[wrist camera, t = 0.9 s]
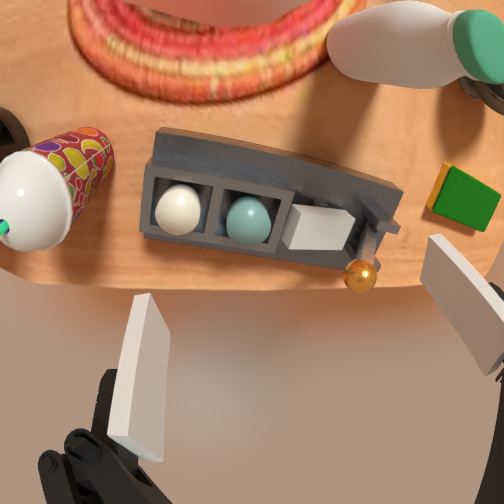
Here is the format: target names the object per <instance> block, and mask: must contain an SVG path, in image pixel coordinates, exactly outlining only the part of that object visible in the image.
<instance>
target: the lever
mask: <svg viewBox="0 0 504 504" xmlns="http://www.w3.org/2000/svg"><path fill="white" fill-rule="evenodd" d="M377 232H378V229H376V228H375V227H374V226H373V225H372V224H371V223H370V221H369V220H367V223H366V225H365V227H364V229H363V232H362V234H361V236H360V238H359V241H358V243H357V245H358V249H357V253H356V257H355V260H353V261H351V262H350V263H349V264H348V265H347V266H346V268H345V270H344V274H343V278H344V282H345V285H346V286H347V287H348V289H349V290H351V291H352V292H355V293H365V292H367V291H369V290H370V289H372V288H373V286H374V285H375V283H376V280H377V272H376V269H375V267H374V258H375V250H376V241H377Z"/></svg>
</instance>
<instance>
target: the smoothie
mask: <svg viewBox="0 0 504 504" xmlns="http://www.w3.org/2000/svg"><path fill="white" fill-rule="evenodd" d="M113 162H114V152H113V149H112V146H111V143H110V141H109V140H108V138H107V137H106V136H105V135H104V134H103V133H102V132H100V131H99V130H97V129H94V128H91V127H84V128H79V129H76V130H73V131H70V132H67V133H64V134H61V135H59V136H56V137H53V138H51V139H48V140H45V141H43V142H40V143H38V144H35V145H33V146H30V147H28V148H26V149H23V150H21V151H17V152H15V153H13V154H11V155H9V156H7V157H5V158H4V160H3V161H2V162H1V163H0V241H1V242H2V243H3V244H4V245H6V246H7V247H9V248H11V249H13V250H16V251H21V252H34V251H38V250H40V251H43V250H47V249H51V248H54V247H56V246H57V245H58V244H60V243H61V242H62V241H63V240H64V238H65V237H66V235H67V233H68V231H69V230H70V228H71V227H72V225H73V224H74V222H75V221H76V219H77V218H78V216H79V215H80V213H81V212H82V210H83V209H84V207H85V206H86V205H87V203H88V202H89V200H90V199H91V198H92V196H93V195H94V193H95V192H96V191H97V189H98V188H99V187H100V185H101V184H102V183H103V181H104V180H105V179H106V178H107V176H108V174H109V173H110V171H111V169H112V166H113Z"/></svg>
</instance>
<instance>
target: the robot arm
mask: <svg viewBox="0 0 504 504" xmlns="http://www.w3.org/2000/svg"><path fill="white" fill-rule="evenodd" d="M28 147H30V143H29V139H28V137H27V134H26V132H25V130H24V128H23V126H22V125H21V123H20V122H19V120H18V119H17V118H16V117H15V116H14V115H13V114H12V113H11V112H9V111H8V110H6V109H3V108H0V163H1V162H2V161H3V160H4V158H5V157H7V156H9V155H11V154H13V153H15V152H17V151H21V150H23V149H26V148H28ZM420 281H421V282H422V283H423V285H424V286H425V287H426V289H427V290H428V291H429V293H430V294H431V295H432V297H433V298H434V299H435V301H436V302H437V304H438V305H439V307H440V308H441V309H442V311H443V312H444V314H445V315H446V316H447V318H448V319H449V321H450V322H451V324H452V325H453V327H454V328H455V330H456V331H457V333H458V334H459V336H460V337H461V339H462V340H463V342H464V343H465V345H466V346H467V348H468V350H469V351H470V353H471V354H472V356H473V358H474V359H475V361H476V362H477V364H478V366H479V367H480V369H481V370H482V372H483V374H484V376H487V375H489V374H490V373H492V372H494V371H495V370H497V368H498V367H499V366H500V364H501V363H502V362H503V363H504V292H503V291H502V290H501V289H500V288H499V287H498V286H496V285H495V284H493V283H492V282H490V283H487V281H486V280H485V279H484V278H483V277H482V276H481V275H480V274H479V273H478V271H477V270H476V269H475V268H474V267H473V266H472V265H471V264H470V263H469V262H468V261H467V260H466V259H465V258H464V256H463V255H462V254H461V253H460V252H459V251H458V250H457V249H456V248H455V247H454V246H453V245H452V244H451V243H450V242H449V241H448V240H447V239H446V238H445V237H444V236H443V235H442V234H441V233H440V234H436V235H431V236H429V238H428V243H427V249H426V254H425V259H424V263H423V268H422V272H421V277H420ZM170 335H171V334H170V332H169V330H168V328H167V326H166V324H165V322H164V320H163V318H162V316H161V314H160V312H159V310H158V308H157V306H156V304H155V302H154V300H153V298H152V296H151V294H150V293H147V294H141V295H135V296H134V300H133V304H132V308H131V312H130V316H129V320H128V324H127V329H126V333H125V337H124V342H123V346H122V351H121V356H120V361H119V366H118V369H108V370H107V371H106V372H105V374H104V376H103V377H102V379H101V381H100V386H99V390H98V391H99V394H98V396H97V400H96V401H97V403H96V406H95V411H94V417H93V423H92V429H91V432H89V431H88V430H85V429H75V430H74V431H72V432H71V433H70V434H69V435H68V436H67V438H66V440H65V442H64V450H65V454H60V453H58V452H56V451H53V450H47V451H45V452H44V453H42V455H41V456H40V458H39V461H38V470H39V474H40V479H41V483H42V488H43V491H44V495H45V499H46V502H47V504H172V502H171V501H170V500H169V499H168V498H167V497H166V496H165V495H164V494H163V493H162V492H161V490H160V489H159V488H158V487H157V486H156V485H155V484H154V483H153V481H152V480H151V479H150V478H149V476H148V475H147V474H146V473H145V472H144V471H143V469H142V468H141V467H140V466H139V465H138V457H139V458H141V459H142V460H144V461H152V462H163V448H164V418H165V399H166V383H167V369H168V357H169V346H170ZM501 376H502V379H501V381H500V382H501V392H500V400H499V407H498V414H497V420H496V426H495V431H494V436H493V441H492V445H491V450H490V454H489V458H488V462H487V465H486V469H485V472H484V476H483V479H482V483H481V486H480V489H479V492H478V495H477V498H476V500H475V503H474V504H504V368H503V369H502V371H501V372H500V373H499V375H498V376H497V377H496V380H495V381H496V382H497V381H498V380H499V379H500V377H501Z"/></svg>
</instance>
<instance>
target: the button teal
mask: <svg viewBox="0 0 504 504" xmlns="http://www.w3.org/2000/svg"><path fill="white" fill-rule="evenodd" d="M226 224H227V233H228V235H229V237H230V239H231V240H232V241H233V242H235V243H236V244H238V245H241V246H255V245H257V244H260V243H261V242H263V241H264V240H265V239H266V238H267V237H268V235H269V233H270V230H271V222H270V219H269V215H268V212H267V209H266V207H265V205H264V204H263V202H262V201H260V200H259V199H257V198H255V197H250V196H245V197H240V198H238V199H236V200H234V201H233V202H232V203H231V204H230V205H229V207H228V209H227V213H226Z"/></svg>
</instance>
